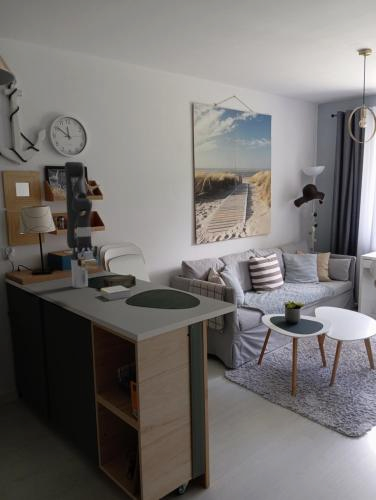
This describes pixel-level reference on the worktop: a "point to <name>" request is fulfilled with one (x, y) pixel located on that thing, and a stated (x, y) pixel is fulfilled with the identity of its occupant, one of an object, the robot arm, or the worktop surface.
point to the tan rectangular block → (88, 264)
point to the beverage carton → (119, 281)
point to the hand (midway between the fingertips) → (85, 265)
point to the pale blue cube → (87, 255)
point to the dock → (115, 292)
